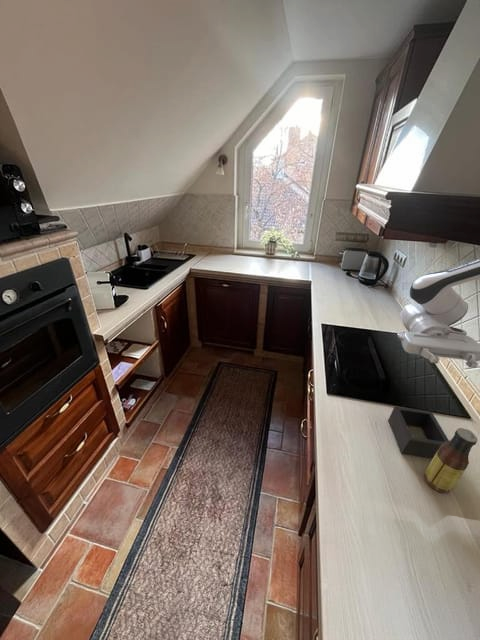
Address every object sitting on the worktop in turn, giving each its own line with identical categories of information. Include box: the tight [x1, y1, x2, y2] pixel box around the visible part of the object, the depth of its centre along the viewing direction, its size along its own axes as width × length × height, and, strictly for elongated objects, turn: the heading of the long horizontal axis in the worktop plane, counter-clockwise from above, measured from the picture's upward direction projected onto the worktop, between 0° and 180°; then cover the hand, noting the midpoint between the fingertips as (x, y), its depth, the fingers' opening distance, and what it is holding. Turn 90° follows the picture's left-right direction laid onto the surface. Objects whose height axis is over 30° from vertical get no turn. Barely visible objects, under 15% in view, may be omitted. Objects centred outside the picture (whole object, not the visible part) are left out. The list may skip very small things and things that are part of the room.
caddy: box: [387, 406, 450, 460], centre depth 80 cm, size 11×12×7 cm
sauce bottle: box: [424, 427, 478, 494], centre depth 66 cm, size 6×6×20 cm
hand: (454, 363), depth 68 cm, fingers open, 8 cm apart
